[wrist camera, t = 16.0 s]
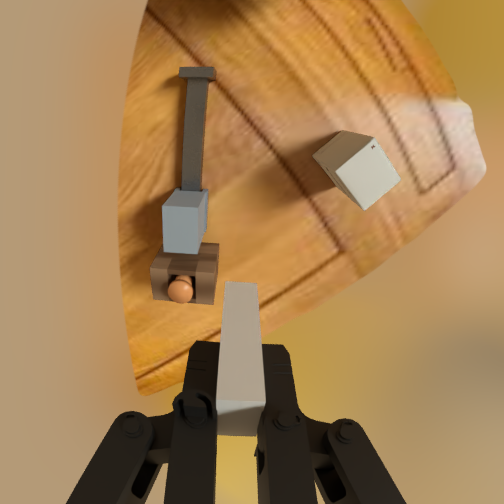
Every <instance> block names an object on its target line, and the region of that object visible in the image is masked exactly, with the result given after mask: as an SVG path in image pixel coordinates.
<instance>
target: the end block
mask: <svg viewBox="0 0 504 504" xmlns="http://www.w3.org/2000/svg"><path fill="white" fill-rule="evenodd" d="M218 259H219V244H216V243H202V242H201V244H200V247H199V251H198V254H185V253H172V252H164V247H163V245H162V246H161V248H160V250H159V252H158V254H157V255H156V257H155V259H154V261H153V263H152V265H151V266H150V276H151V285H152V293H153V299H155V300H165V301H173V300H172V299H171V298H170V297H169V295H168V288H169V285H170V283H171V282H172V281H174V280H175V278H176V276H177V275H187V276H194V278H193V282H192V288H193V295H192V298H191V300H190V301H189V302H187V303H196V304H209V305H213V304H214V297H215V289H216V282H217V275H218Z"/></svg>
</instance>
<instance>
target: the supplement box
mask: <svg viewBox="0 0 504 504" xmlns="http://www.w3.org/2000/svg"><path fill="white" fill-rule="evenodd" d="M312 157H313V158H314V159H315V160H316V161H317V163H318V164H319V165H320V166H321V167H322V168H323V170H324V171H325V172H326V173H327V175H328V176H329V177H330V179H331V180H332V181H333V183H334V184H335V185H336V187H337V188H339V189H340V190H341V191H342V192H343V193H344V194H345V195H347V196H348V197H349V198H350V199H351V200H352V201H353V202H355V203H356V204H357V205H358V206H359V207H360V208H361V209H363V210H364V211H365V210H366V209H367V208H369V207H370V206H371V205H372V204H373V203H374V202H376V201H377V200H378V199H379V198H380V197H382V196H383V195H384V194H385V193H386V192H388V191H389V190H390V189H391V188H392V187H394V186H395V185H396V184H397V183H399V182H400V181H401V178H400V176H399V175H398V173H397V172H396V170H395V168H394V167H393V165H392V163H391V162H390V160H389V158H388V157H387V155H386V154H385V152H384V151H383V149H382V148H381V146H380V145H379V143H378V142H377V140H376V139H375V138H374V137H371V136H367V135H363V134H358V133H354V132H349V131H344V130H342V131H341V132H340V133H338V134H337V135H336V136H335V137H334V138H332V139H331V140H330V141H329V142H327V143H326V144H325V145H324V146H323V147H321V148H320V149H319V150H318V151H317V152H315V153H314V154H313V155H312Z"/></svg>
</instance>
